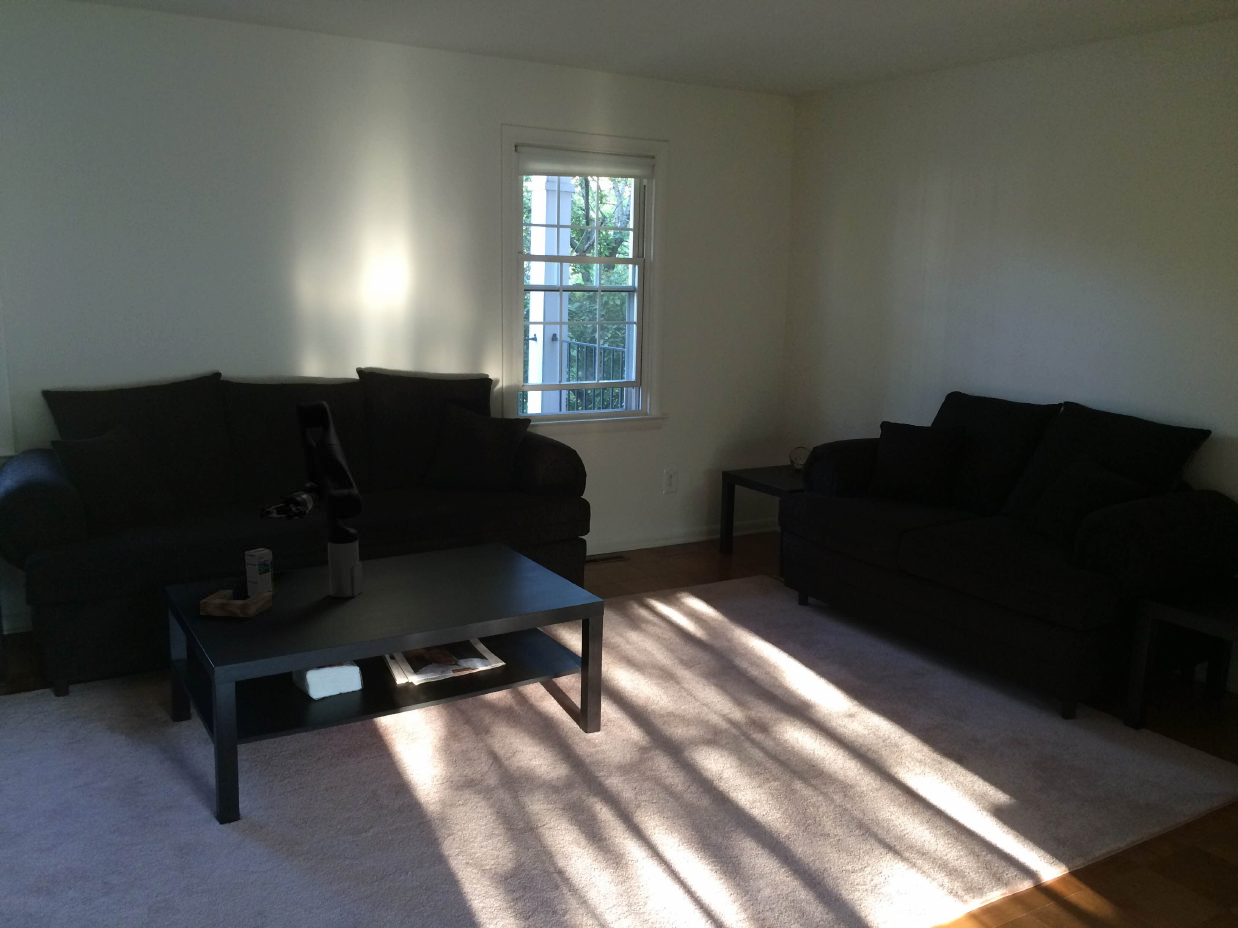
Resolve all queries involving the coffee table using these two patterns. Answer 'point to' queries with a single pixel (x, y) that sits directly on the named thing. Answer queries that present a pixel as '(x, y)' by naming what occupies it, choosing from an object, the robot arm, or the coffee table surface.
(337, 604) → the coffee table surface
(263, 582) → the syrup box
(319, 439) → the robot arm
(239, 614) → the cradle
